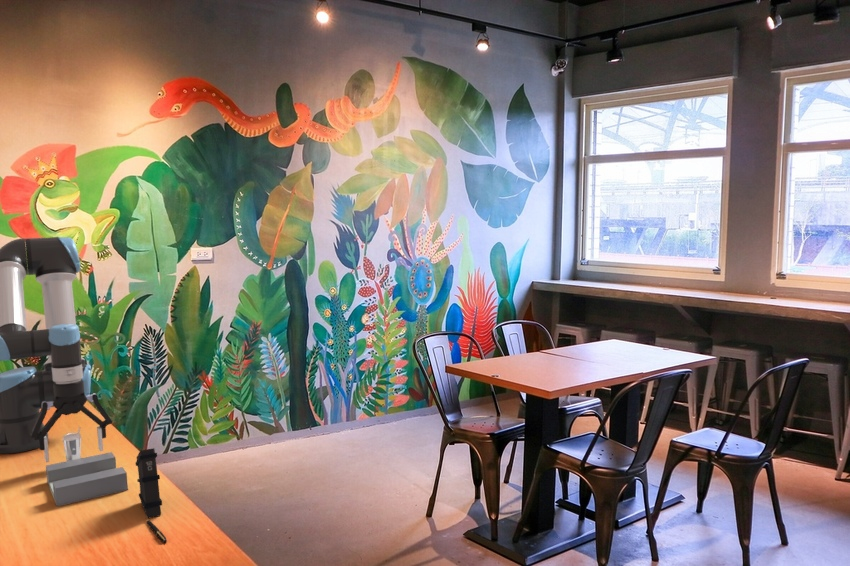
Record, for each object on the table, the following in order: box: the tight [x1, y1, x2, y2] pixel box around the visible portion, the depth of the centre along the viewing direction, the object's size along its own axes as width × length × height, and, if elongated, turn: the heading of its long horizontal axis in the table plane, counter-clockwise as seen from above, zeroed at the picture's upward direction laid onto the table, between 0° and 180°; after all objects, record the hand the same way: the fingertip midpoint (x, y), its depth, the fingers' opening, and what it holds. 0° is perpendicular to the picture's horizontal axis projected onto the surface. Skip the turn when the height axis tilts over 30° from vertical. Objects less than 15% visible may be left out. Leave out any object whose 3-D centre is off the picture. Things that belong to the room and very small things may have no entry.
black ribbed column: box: [135, 447, 163, 519], centre depth 164 cm, size 4×13×15 cm, turn 29°
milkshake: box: [62, 426, 82, 461], centre depth 195 cm, size 5×5×10 cm
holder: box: [45, 451, 129, 507], centre depth 179 cm, size 19×16×4 cm
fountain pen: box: [145, 519, 168, 544], centre depth 153 cm, size 14×1×2 cm, turn 37°
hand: (74, 455), depth 195 cm, fingers open, 13 cm apart
